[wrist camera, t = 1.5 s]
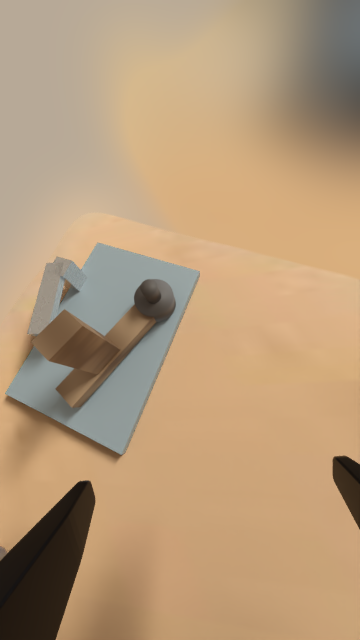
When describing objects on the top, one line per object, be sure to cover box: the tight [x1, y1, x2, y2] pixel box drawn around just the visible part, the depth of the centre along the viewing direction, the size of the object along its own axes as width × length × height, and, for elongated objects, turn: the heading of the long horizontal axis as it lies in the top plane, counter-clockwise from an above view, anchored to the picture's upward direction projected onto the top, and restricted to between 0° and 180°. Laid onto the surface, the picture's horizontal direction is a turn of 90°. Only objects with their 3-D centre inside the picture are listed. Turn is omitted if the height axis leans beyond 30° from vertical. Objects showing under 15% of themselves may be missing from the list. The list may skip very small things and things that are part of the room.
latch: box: [31, 279, 176, 408], centre depth 19 cm, size 14×4×8 cm, turn 140°
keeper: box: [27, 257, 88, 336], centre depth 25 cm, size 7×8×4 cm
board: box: [5, 243, 200, 455], centre depth 25 cm, size 20×14×1 cm
